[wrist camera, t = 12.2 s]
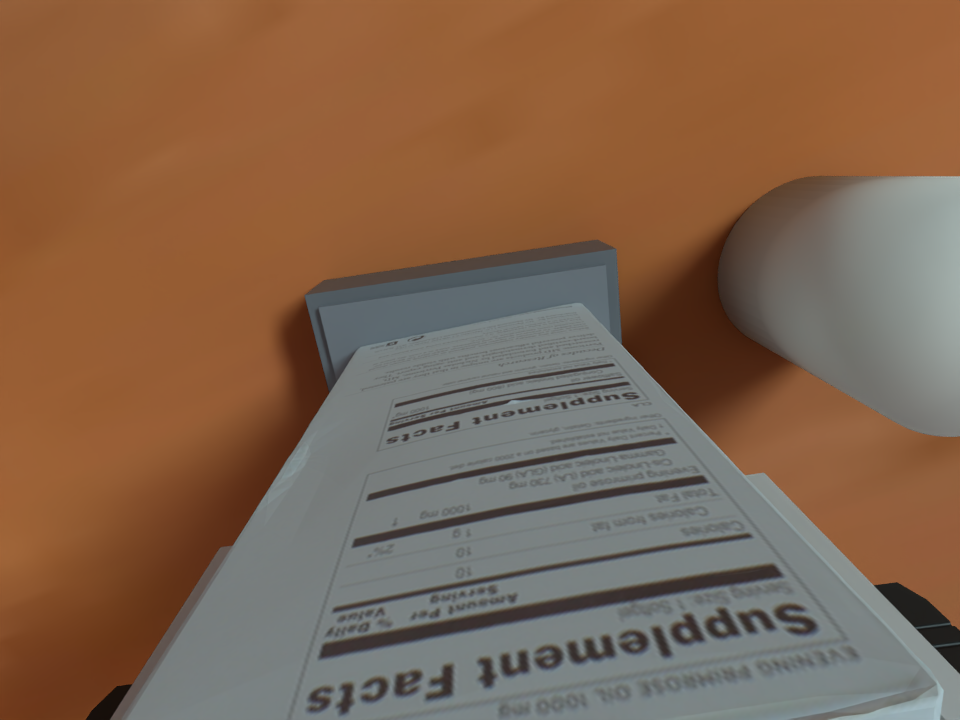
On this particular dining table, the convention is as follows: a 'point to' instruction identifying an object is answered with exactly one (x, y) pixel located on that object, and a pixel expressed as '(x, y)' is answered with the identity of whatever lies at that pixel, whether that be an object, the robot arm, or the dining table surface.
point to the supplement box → (523, 559)
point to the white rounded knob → (857, 289)
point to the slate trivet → (459, 297)
